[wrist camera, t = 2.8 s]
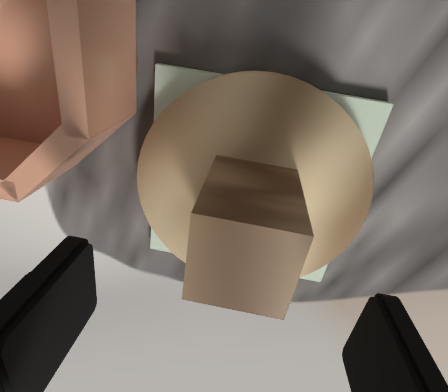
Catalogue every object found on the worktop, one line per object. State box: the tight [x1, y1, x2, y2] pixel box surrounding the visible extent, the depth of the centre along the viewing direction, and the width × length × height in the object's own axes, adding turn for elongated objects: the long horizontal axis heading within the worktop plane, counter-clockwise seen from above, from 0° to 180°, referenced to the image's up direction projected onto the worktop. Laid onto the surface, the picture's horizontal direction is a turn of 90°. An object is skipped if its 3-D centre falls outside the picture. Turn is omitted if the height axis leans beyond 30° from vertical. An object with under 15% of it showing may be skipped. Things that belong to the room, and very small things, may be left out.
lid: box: [137, 70, 374, 320], centre depth 13 cm, size 12×12×6 cm
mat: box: [151, 63, 394, 282], centre depth 16 cm, size 11×11×1 cm
